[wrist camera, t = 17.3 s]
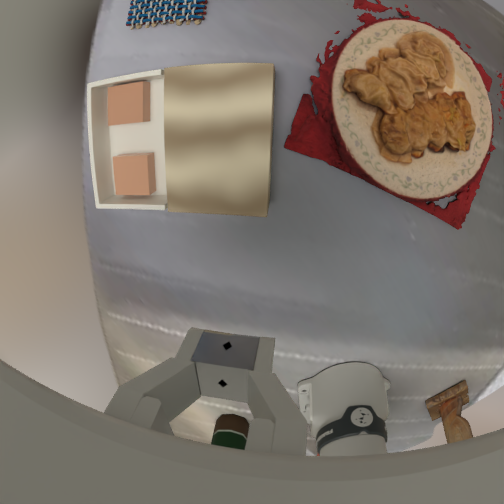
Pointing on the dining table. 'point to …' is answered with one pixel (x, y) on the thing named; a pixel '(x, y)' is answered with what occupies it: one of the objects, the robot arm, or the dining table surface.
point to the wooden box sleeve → (219, 138)
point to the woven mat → (165, 12)
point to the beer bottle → (231, 432)
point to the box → (126, 142)
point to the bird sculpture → (451, 412)
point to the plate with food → (401, 112)
